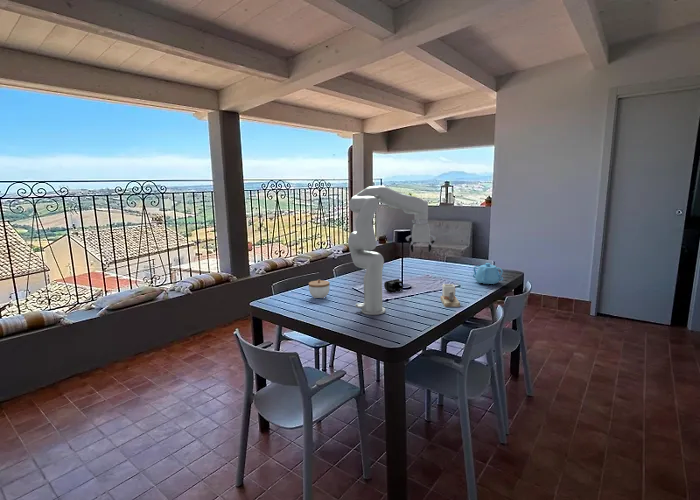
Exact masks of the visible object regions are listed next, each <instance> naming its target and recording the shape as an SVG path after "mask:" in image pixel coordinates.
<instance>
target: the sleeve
mask: <svg viewBox="0 0 700 500" xmlns="http://www.w3.org/2000/svg"><path fill="white" fill-rule="evenodd" d="M441 286H442V292H441V293H442V295H441V296H443V298H444V299H449V292H454V298H453V299H455V297H456V285H454V283H451V284H450V283H443V284H442V285H441Z"/></svg>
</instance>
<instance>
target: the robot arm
mask: <svg viewBox="0 0 700 500" xmlns="http://www.w3.org/2000/svg"><path fill="white" fill-rule="evenodd" d="M428 202H429V201H427V200H424V199H422V198H419V197H417V196H413V195H410V194H406V193H401V192H399V191H396V190H394V189H392V188H390V187H387V186H385V185H371V186H367V187H366V188H364V189H363V190H361V191H359V192H358V193H356V194H355V195H353V196H352V197H351V198H350V200H349V203H348V207H349V209H350V210H351V211H352V213H354V214H357V216H356V218H355V222H354V223H355V224H354V225H355V230H354V231H352V232H350V234H349V236H348V239H347V243H348V248H349V249H348V250H349V253H350V255H351V260H352V262H353V265H354V266H355V267H357V268H360V269H364V270H366V271H365V272H364V276H363V302H362V303H355V308H357V309H361V313H362V314H365V315H367V316H378V315H382V314H384V313H386V308H385V307H383V269H384V264H385V259H384V256H383V255H382V254H381V253H380V252H377V251H374V250H375V249H376V247H377V238H376V233H375V231H374V226H373V218H374V216H375V214H376V212H377V211H378V209H379V204H383V205H385V206H388V207H390V208H393V209H397V210H398V209H399V210H402V211H403V213H404V214H409V215H414V219H412V220H411V223H413V224H412V232H411V234H410V235H408V236H406V237H405V240H406V241H407V243H408V244H409V245H410V251H411V252H412V253H414V245H413V244H414V243H428V247H427V249H428V252H429V253H431V251H432V245H433V244H434V243H435V242H436V241H437V237H436V236H435V235H433V234H431V228H430V224H429V221H428V220H429V203H428ZM410 238H411V241H410ZM431 238H432V240H431Z"/></svg>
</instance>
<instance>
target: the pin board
mask: <svg viewBox="0 0 700 500" xmlns="http://www.w3.org/2000/svg"><path fill="white" fill-rule="evenodd" d="M453 298H454V292H449V299H444V298H443V296H442V295H440V301H441V304H442V305H443V306H444V308H445V307H446V308H448V307H449V308H451V307H457V308H459V307H461V302H460V301H459V299H458V298H457V296H455V299H453Z"/></svg>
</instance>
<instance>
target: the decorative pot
mask: <svg viewBox="0 0 700 500" xmlns="http://www.w3.org/2000/svg"><path fill="white" fill-rule="evenodd" d="M476 268H477V270H476ZM499 270H500V271H499ZM503 273H504V271H503V269H502V268H501V267H497V266H496V265H494V264H492V263H490V262H485V264H482V265H475V266H474V267H473V274H472V278H474V280H475V281H476V282H477V283H478V284H479V283H483V285H484V284H485V285H489V284H493V285H495V284H497V283H499V282H500V281H503V280H504V277H502V275H503Z"/></svg>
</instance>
